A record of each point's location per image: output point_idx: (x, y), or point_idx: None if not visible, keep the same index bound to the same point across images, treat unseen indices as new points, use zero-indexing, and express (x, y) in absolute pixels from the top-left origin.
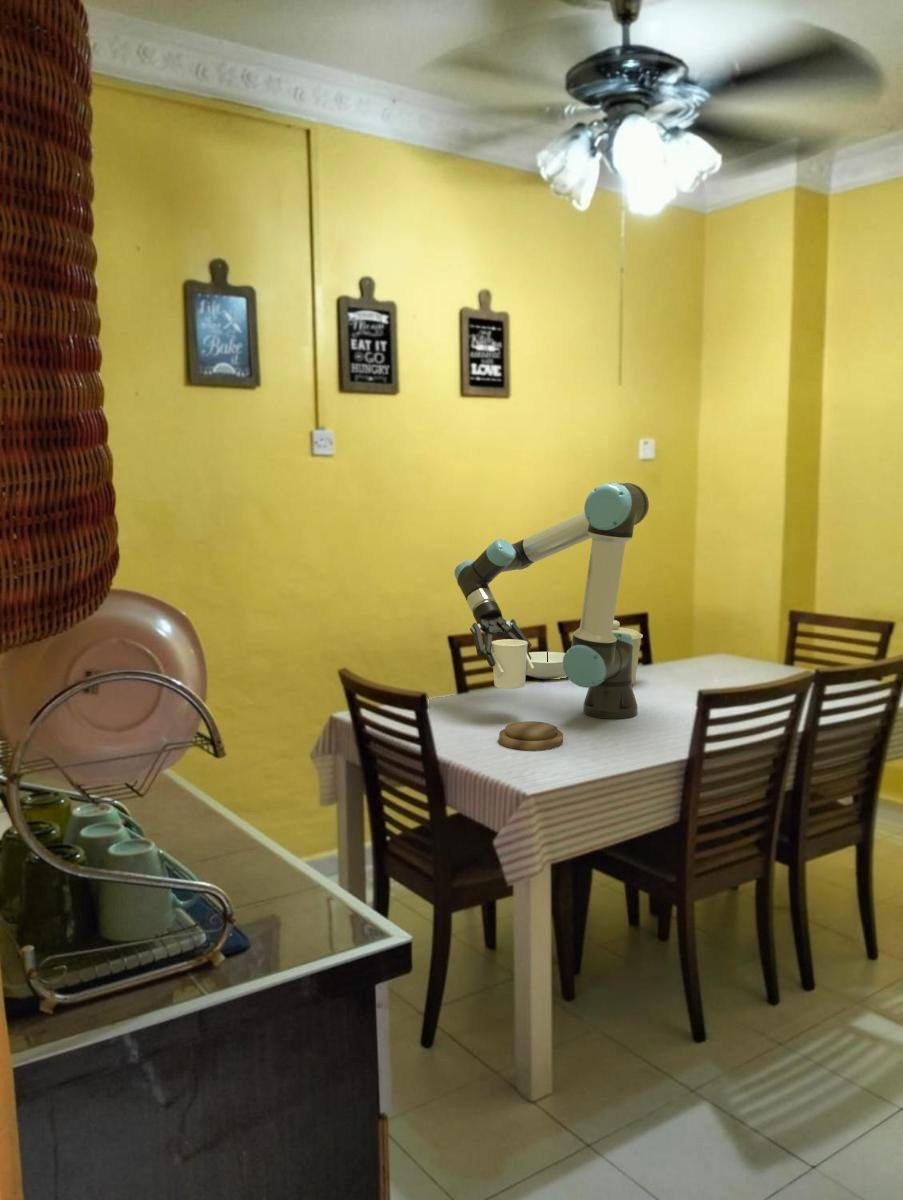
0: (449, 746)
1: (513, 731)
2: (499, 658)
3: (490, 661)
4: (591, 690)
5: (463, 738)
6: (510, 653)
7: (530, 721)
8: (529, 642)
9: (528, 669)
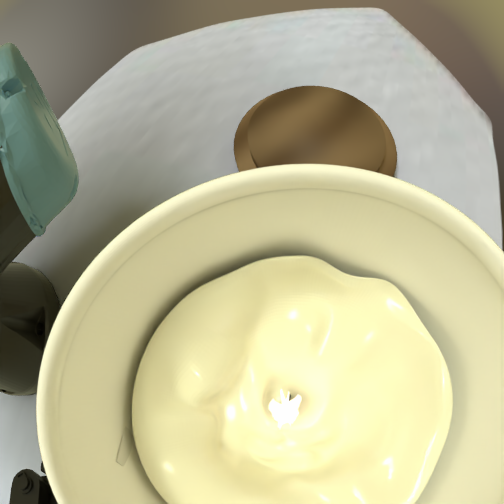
0: (490, 185)
1: (371, 120)
2: (437, 321)
3: None
4: (7, 326)
5: None
6: (368, 234)
7: None
8: (13, 501)
9: None
